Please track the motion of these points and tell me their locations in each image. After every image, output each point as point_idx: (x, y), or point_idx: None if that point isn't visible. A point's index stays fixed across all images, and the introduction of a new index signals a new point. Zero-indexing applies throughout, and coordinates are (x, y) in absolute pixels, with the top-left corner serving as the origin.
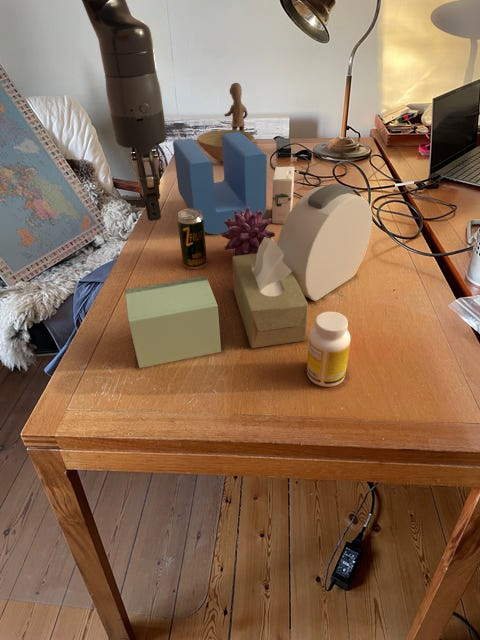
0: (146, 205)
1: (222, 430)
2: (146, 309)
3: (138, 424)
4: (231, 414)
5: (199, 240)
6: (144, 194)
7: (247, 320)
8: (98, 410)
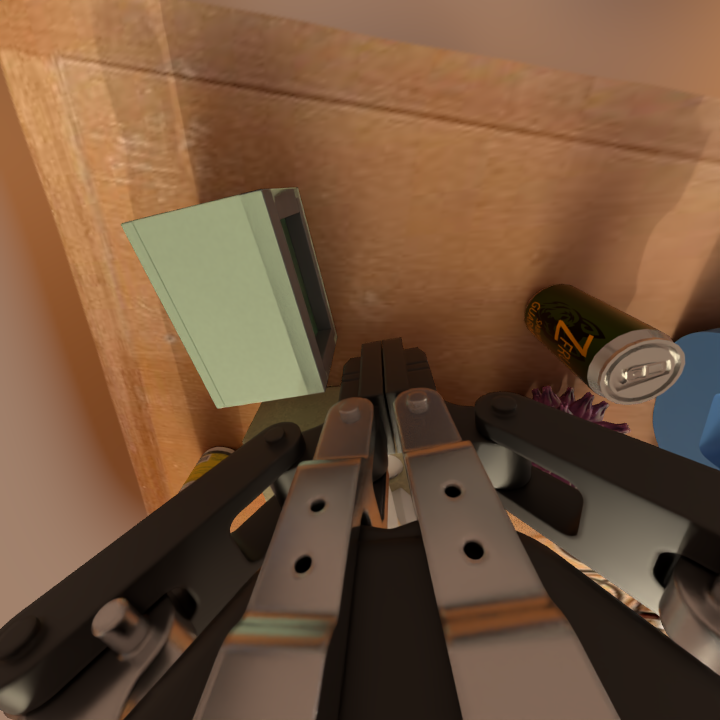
0: (359, 383)
1: (105, 347)
2: (177, 266)
3: (74, 226)
4: (135, 359)
5: (558, 357)
6: (193, 487)
7: (281, 411)
8: (78, 139)
